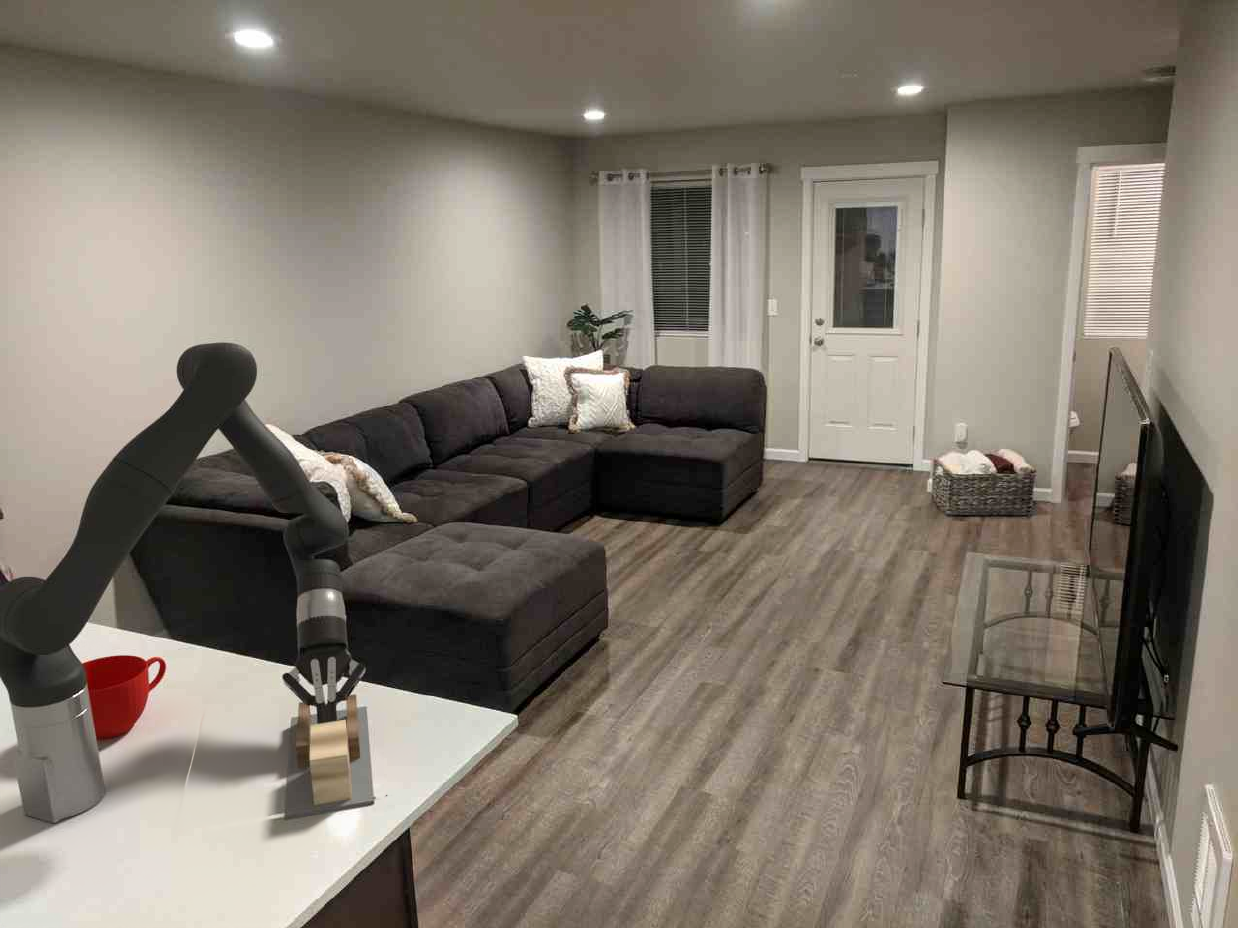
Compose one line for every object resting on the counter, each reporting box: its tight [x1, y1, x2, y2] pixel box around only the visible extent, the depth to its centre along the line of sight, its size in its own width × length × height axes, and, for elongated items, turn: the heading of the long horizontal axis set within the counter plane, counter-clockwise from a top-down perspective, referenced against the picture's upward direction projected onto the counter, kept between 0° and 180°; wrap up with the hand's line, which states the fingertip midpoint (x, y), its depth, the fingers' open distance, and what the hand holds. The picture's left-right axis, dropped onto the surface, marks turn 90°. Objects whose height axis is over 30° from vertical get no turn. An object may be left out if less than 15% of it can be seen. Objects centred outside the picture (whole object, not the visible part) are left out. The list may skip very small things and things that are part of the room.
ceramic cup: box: [81, 654, 167, 740], centre depth 153 cm, size 13×17×10 cm
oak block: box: [310, 720, 351, 805], centre depth 136 cm, size 10×5×7 cm, turn 17°
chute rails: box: [296, 694, 360, 768], centre depth 148 cm, size 14×9×4 cm, turn 17°
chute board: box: [283, 705, 375, 820], centre depth 143 cm, size 28×12×1 cm, turn 17°
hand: (327, 728), depth 143 cm, fingers closed
